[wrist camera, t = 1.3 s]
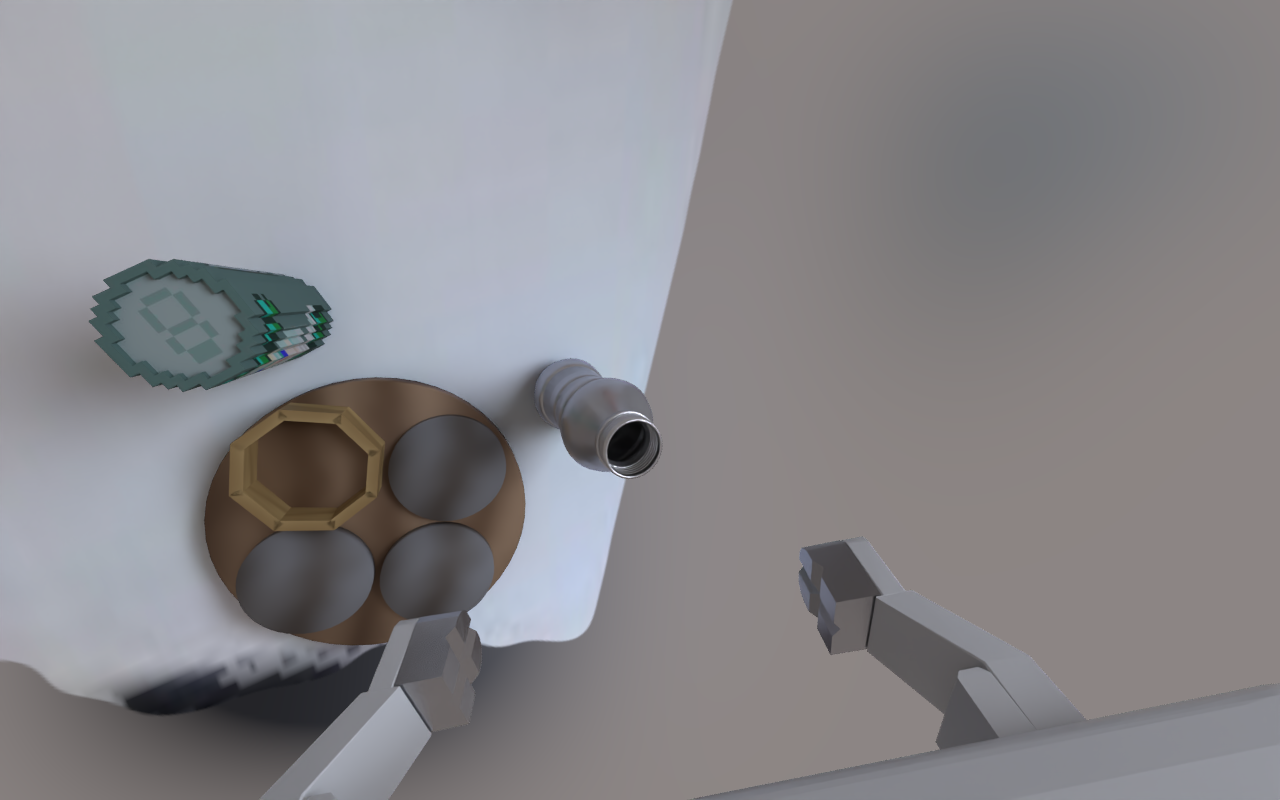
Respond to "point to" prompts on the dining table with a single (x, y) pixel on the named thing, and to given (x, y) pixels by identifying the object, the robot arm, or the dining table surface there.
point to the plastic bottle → (599, 418)
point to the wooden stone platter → (364, 510)
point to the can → (205, 322)
